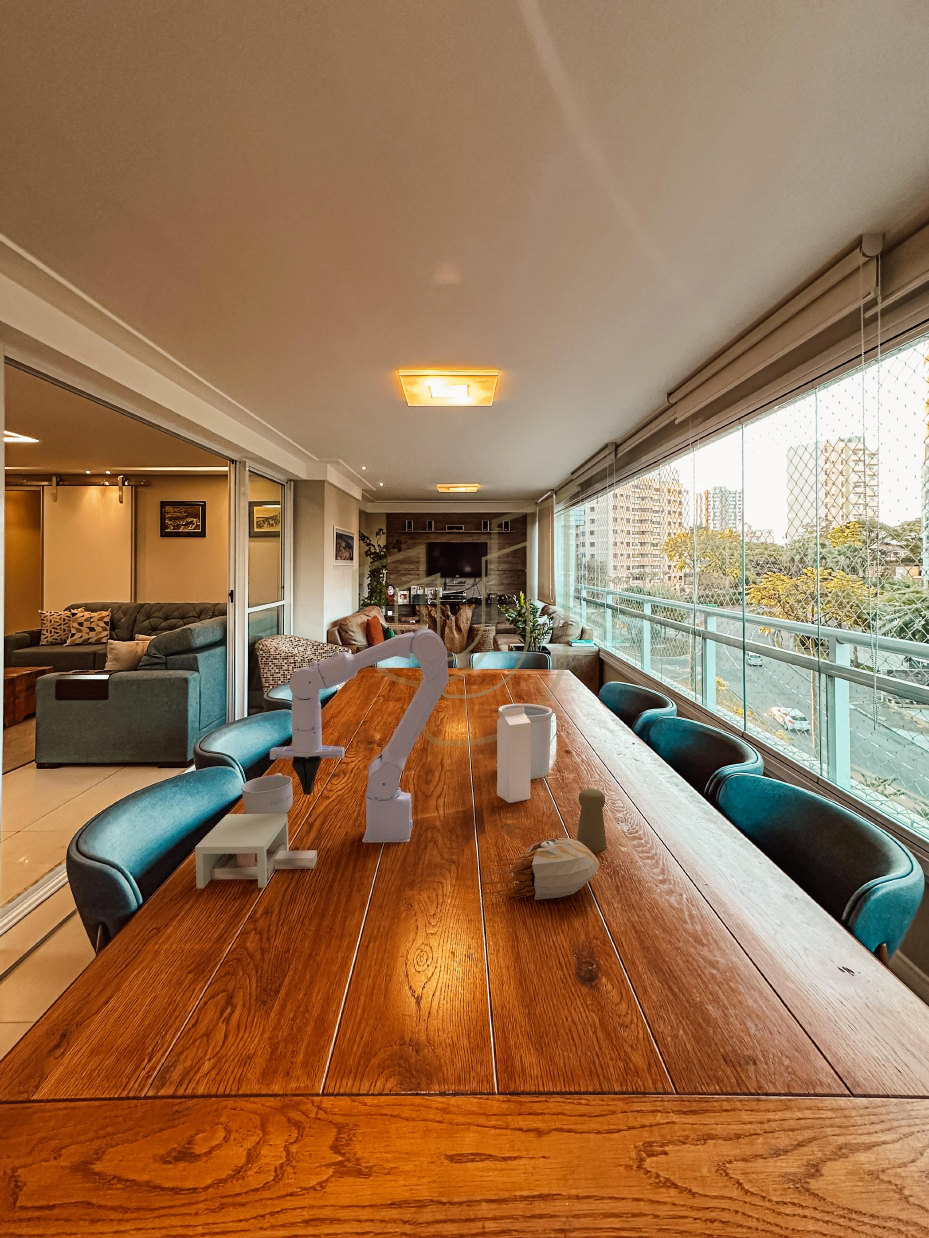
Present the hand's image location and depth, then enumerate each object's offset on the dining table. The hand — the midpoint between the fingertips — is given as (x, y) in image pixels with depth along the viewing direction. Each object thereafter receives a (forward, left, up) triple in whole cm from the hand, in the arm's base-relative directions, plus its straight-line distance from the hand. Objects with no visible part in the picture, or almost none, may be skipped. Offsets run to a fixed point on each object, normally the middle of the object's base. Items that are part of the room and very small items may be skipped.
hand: (308, 793), depth 119 cm
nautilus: (-44, +19, -10) cm, 49 cm away
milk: (-44, -23, -10) cm, 51 cm away
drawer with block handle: (+5, +11, -10) cm, 16 cm away
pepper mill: (-57, +3, -10) cm, 58 cm away
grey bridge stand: (+9, +12, -10) cm, 18 cm away
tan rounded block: (+8, +13, -9) cm, 18 cm away
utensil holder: (-49, -42, -10) cm, 65 cm away
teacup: (+12, -14, -10) cm, 21 cm away
